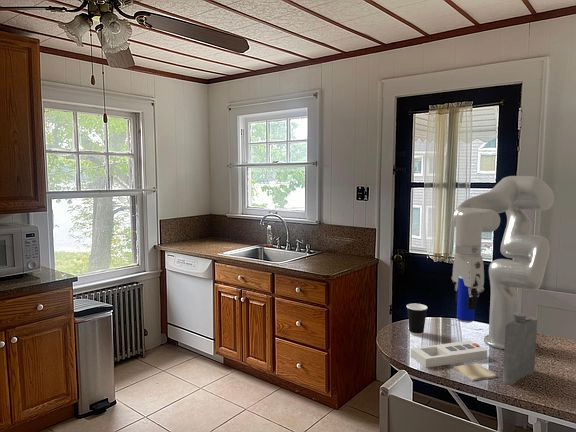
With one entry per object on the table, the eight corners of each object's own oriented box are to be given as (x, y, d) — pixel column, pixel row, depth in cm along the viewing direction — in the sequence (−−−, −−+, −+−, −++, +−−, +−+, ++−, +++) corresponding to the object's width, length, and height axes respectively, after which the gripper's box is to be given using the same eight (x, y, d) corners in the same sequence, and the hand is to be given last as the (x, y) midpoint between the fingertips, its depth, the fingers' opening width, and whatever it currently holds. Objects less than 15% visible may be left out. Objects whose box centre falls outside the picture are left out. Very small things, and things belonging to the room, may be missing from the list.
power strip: (469, 348, 159) (469, 339, 159) (486, 358, 151) (487, 348, 150) (410, 356, 153) (410, 346, 152) (425, 367, 144) (425, 357, 144)
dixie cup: (403, 329, 178) (404, 303, 177) (423, 330, 178) (424, 303, 177) (408, 337, 170) (409, 309, 169) (429, 337, 170) (430, 309, 169)
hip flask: (511, 386, 132) (514, 321, 130) (497, 381, 135) (500, 317, 133) (536, 371, 141) (539, 310, 139) (523, 367, 144) (526, 307, 142)
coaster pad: (477, 364, 146) (477, 363, 146) (496, 377, 138) (497, 375, 137) (453, 368, 144) (453, 366, 144) (472, 380, 135) (472, 379, 135)
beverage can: (475, 323, 138) (477, 276, 137) (457, 322, 140) (459, 276, 138) (472, 318, 143) (474, 273, 142) (455, 317, 145) (457, 272, 143)
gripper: (497, 254, 132) (494, 313, 134) (461, 244, 148) (459, 297, 150) (475, 255, 130) (473, 315, 132) (441, 245, 146) (440, 299, 148)
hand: (466, 305), depth 141 cm, fingers closed on beverage can, 5 cm apart
